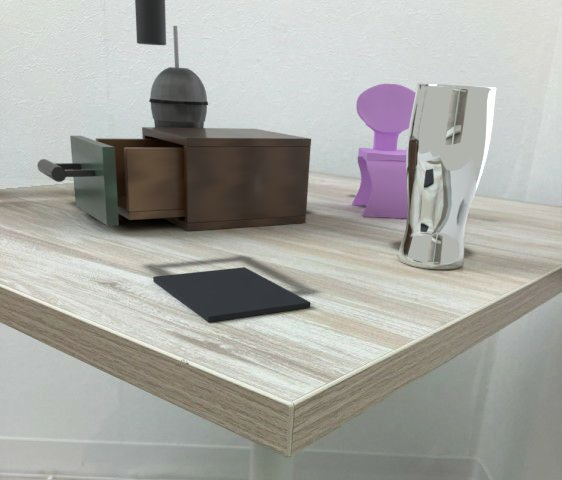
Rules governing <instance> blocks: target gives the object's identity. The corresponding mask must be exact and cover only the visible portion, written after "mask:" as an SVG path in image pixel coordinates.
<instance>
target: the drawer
mask: <svg viewBox="0 0 562 480" xmlns="http://www.w3.org/2000/svg"><path fill="white" fill-rule="evenodd" d="M69 137H70V138H69V140H70V150H71V162H65V163H64V162H61V163H60V162H59V163H58V162H57V163H55V162H53V161H50V160H48V159H47V158H46V159H45V158H42V159H40V160H38V162H37V166H36V167H37V170H38V171H39V172H40V173H42V174H43V175H45V176H47V177H48V178H49V179H52V180H53V181H55V182H57V183H62V182H63V181H65V180H66V178H73V188H74V189H73V190H74V202H75V206H76V207H77V208H79V209H81V210H82V211H83V212H85V213H87V214H88V215H89V216H90V217H93V218H94V219H96V220H98V221H99V222H100V223H102V224H104V225H105V226H106V227H114V226H119V225H120V222H119V221H120V219H119V215H120V216H122V217H124V218H125V219H127V220H129V221H137V220H151V219H152V220H154V219H155V220H156V219H163V218H174V217H185V192H184V145H180V144H176V143H172V142H168V141H165V140H161V139H143V138H119V137H118V138H115V137H114V138H113V137H111V138H110V137H109V138H106V137H105V138H103V137H102V138H101V137H100V138H99V137H97V138H95V139H92V138H89V137H86V136H84V135H70V136H69Z"/></svg>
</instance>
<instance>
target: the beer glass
mask: <svg viewBox="0 0 562 480" xmlns="http://www.w3.org/2000/svg"><path fill="white" fill-rule="evenodd" d="M496 92H497V87H494V86H493V87H492V86H479V85H461V84H460V85H459V84H444V83H443V84H441V83H421V82H420V83H419V82H418V83H416V88H415V98H414V102H413V107H412V112H411V118H410V124H409V129H407V137H406V138H407V140H406V148H405V150H406V181H407V218H406V221H405V222H406V223H405V228H404V231H403V232H404V233H403V236H402V239H401V243H400V246H399V249H398V252H397V260H398V261H399V262H400V263H402V264H405V265H407V266H411V267H415V268H419V269H420V268H421V269H425V270H426V269H427V270H437V271H446V270H447V271H448V270H456V269H460V268H462V267H463V266H464V263H465V232H466V225H467V221H468V216H469V213H470V210H471V207H472V204H473V202H474V197H475V196H476V192H477V189H478V187H479V183H480V182H481V177H482V175H483V172H484V168H485V165H486V162H487V157H488V153H489V148H490V143H491V137H492V131H493V122H494V114H495V103H496V95H497V93H496Z"/></svg>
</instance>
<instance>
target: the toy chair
mask: <svg viewBox="0 0 562 480" xmlns="http://www.w3.org/2000/svg"><path fill="white" fill-rule="evenodd" d="M415 93H416V91H414V90H412V89H410V88H409V87H407V86H404V85H401V84H397V83H380V84H376V85H373V86H371V87H369V88H366V89H365V90H363V92H361V93H360V94H359V96H358V97H357V100H356V104H355V105H356V106H355V107H356V113H357V115H358V117H359V118H360V119H361V121H362V122H364V124H365V125H366V126H367V127H368V128H369V129H370V130H372V131H373V144H372V148H370V147H358V153H357V164H358V168H359V171H360V183H359V188H358V190H357V193H356V195H355V196H354V199H353V200H352V203H351V205H352V206H365V207H364V210H363V211H362V213H361V217H366V218H390V219H391V218H393V219H407V181H406V149H398V140H399V135H400V134H401V133H402V132H404V131H406V130H407V131H408V130H409V124H410V118H411V112H412V107H413V102H414V98H415Z"/></svg>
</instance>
